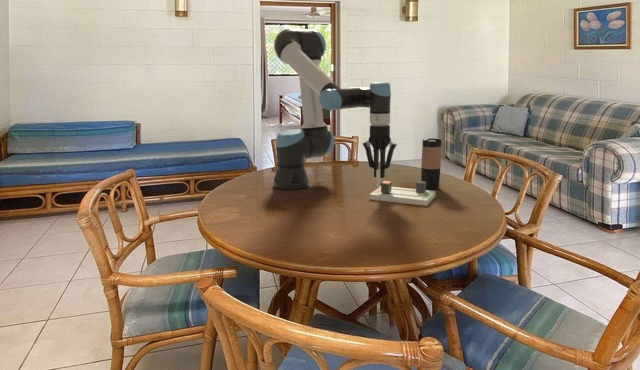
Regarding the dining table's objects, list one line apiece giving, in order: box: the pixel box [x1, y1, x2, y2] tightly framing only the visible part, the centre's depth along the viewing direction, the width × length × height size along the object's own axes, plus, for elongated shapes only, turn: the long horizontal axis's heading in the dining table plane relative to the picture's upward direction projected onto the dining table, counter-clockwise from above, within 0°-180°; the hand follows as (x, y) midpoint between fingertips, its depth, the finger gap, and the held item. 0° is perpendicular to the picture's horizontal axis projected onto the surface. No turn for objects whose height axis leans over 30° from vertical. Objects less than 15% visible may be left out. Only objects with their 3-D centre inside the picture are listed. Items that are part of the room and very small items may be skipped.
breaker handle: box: [381, 180, 392, 194], centre depth 186 cm, size 3×4×4 cm
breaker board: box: [369, 180, 437, 207], centre depth 187 cm, size 22×14×6 cm, turn 64°
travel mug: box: [420, 137, 442, 191], centre depth 199 cm, size 8×8×20 cm
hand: (379, 185), depth 187 cm, fingers closed
